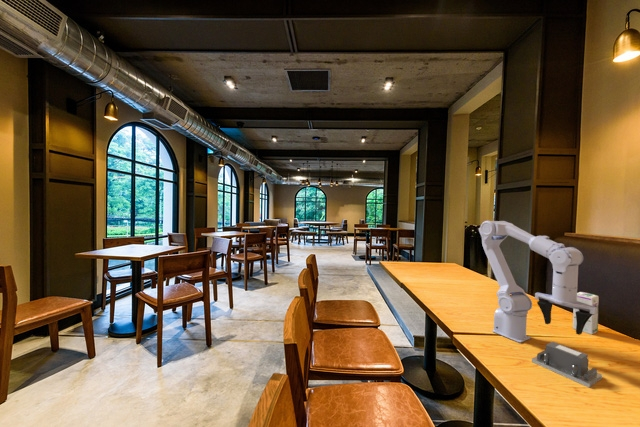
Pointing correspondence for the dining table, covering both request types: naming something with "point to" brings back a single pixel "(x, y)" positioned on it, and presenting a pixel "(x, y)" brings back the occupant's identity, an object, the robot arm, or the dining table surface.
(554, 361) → the block
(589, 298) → the syrup box
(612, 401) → the dining table surface
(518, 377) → the dining table surface
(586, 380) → the pin tray
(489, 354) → the dining table surface
